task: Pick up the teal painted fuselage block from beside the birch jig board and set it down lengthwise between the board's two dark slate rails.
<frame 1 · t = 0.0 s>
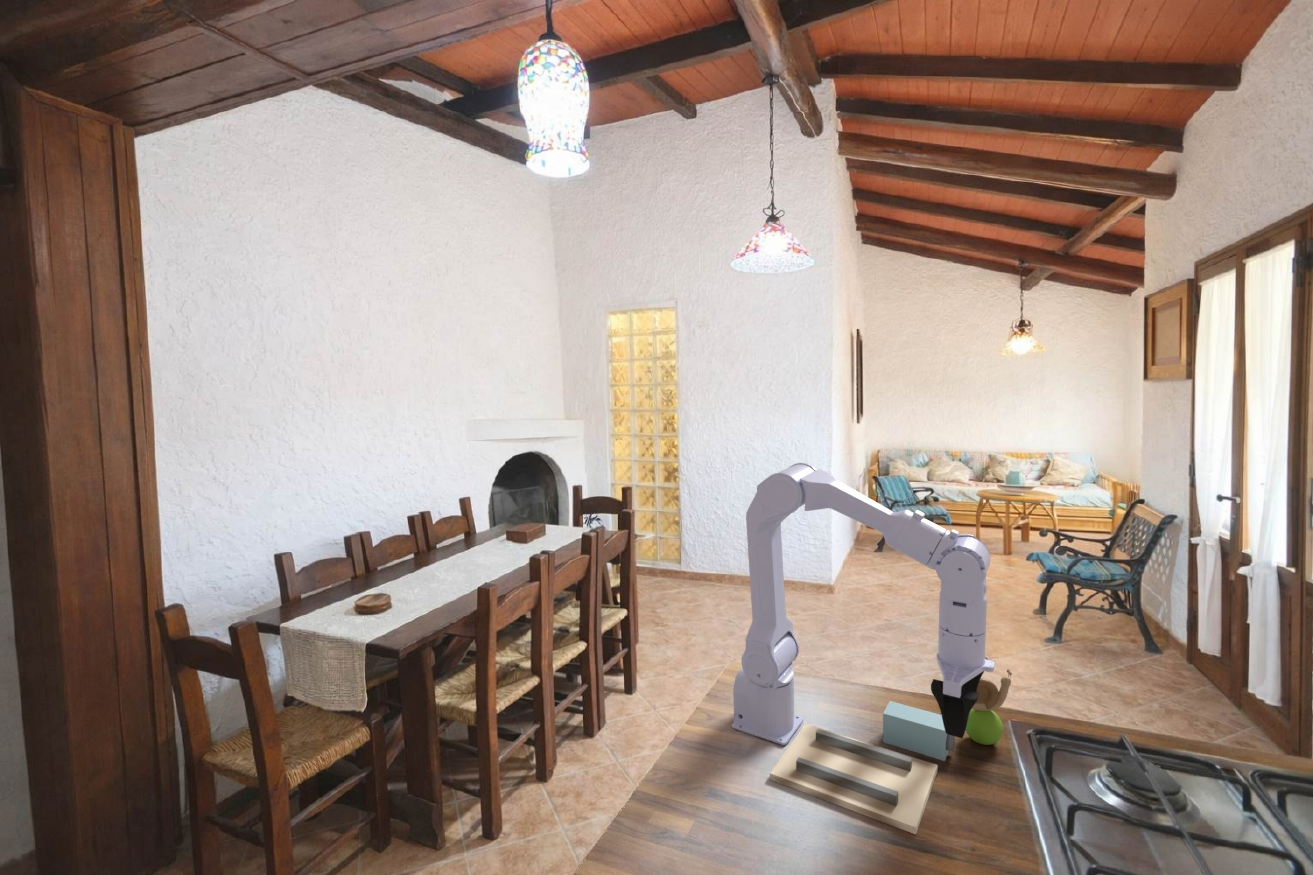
hand: (959, 720, 86), 10 cm above the counter, tool pointing down, fingers open, 7 cm apart
snail figurine: (985, 742, 97), on the counter
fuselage: (915, 744, 97), on the counter
jig board: (853, 775, 91), on the counter
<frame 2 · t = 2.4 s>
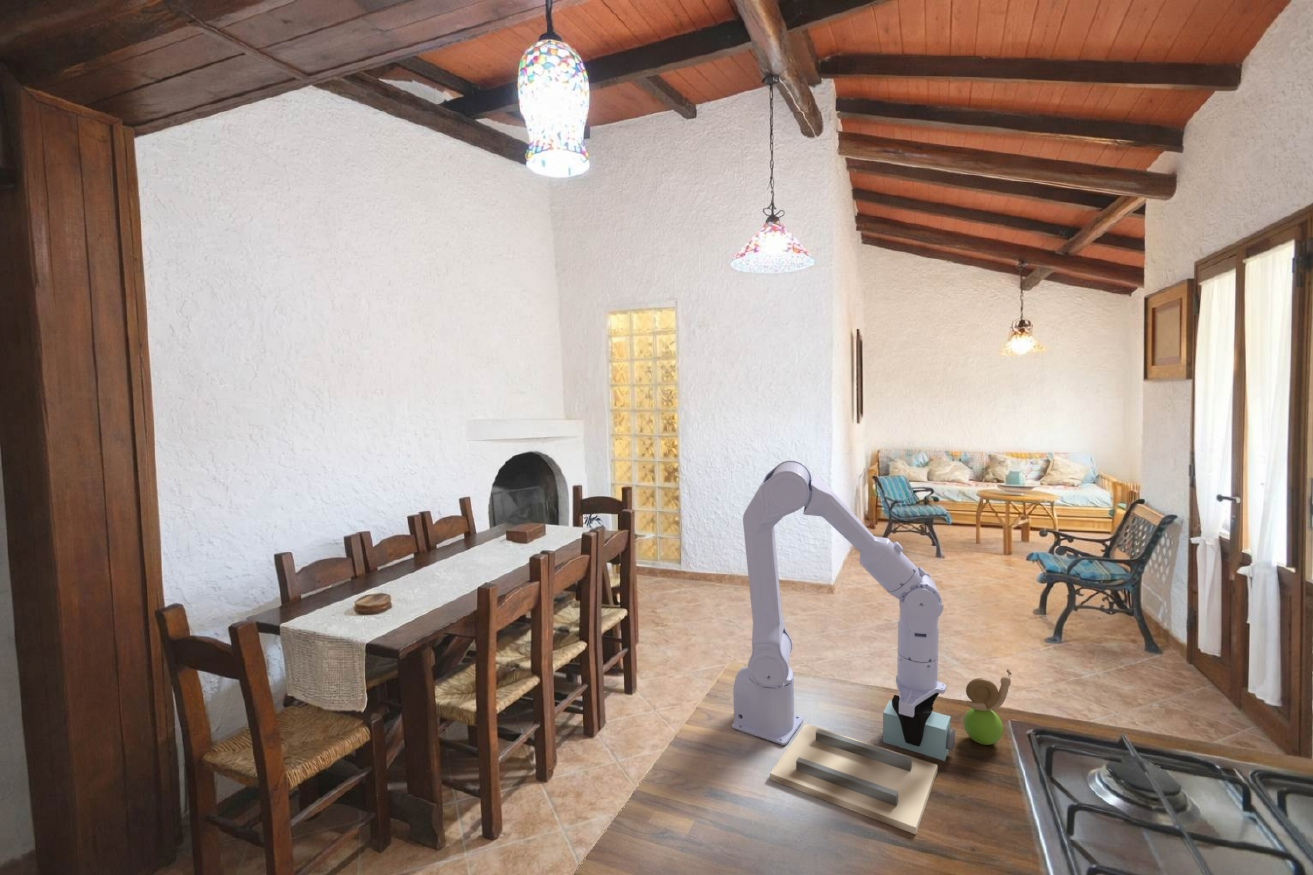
hand: (916, 735, 97), 1 cm above the counter, tool pointing down, fingers closed on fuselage, 4 cm apart
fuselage: (916, 744, 97), on the counter, touching gripper
everything else where it was.
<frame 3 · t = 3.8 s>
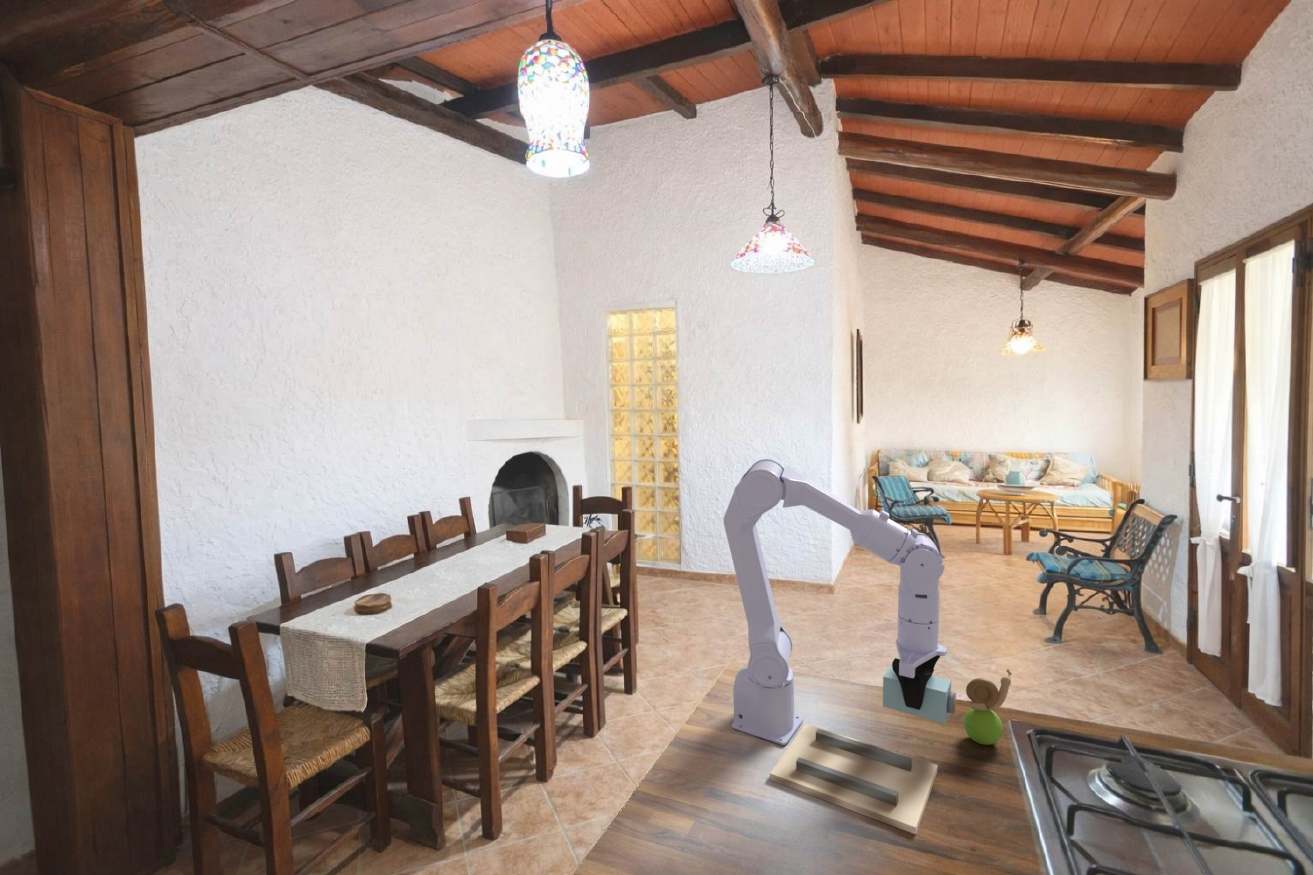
hand: (916, 699, 96), 7 cm above the counter, tool pointing down, fingers closed on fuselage, 4 cm apart
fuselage: (916, 708, 97), point 6 cm above the counter, touching gripper
everything else where it was.
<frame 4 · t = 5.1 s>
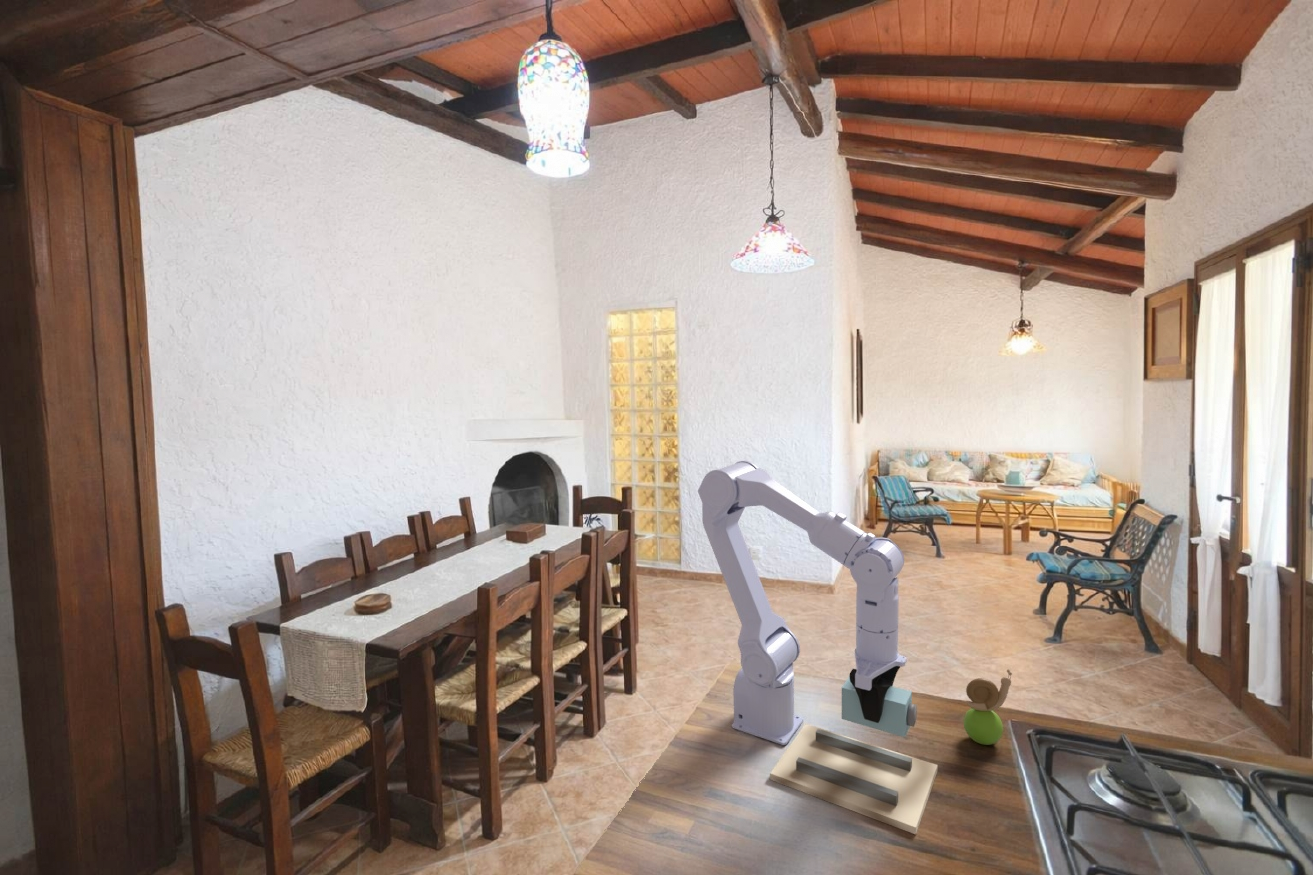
hand: (876, 711, 92), 8 cm above the counter, tool pointing down, fingers closed on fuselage, 4 cm apart
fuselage: (876, 720, 92), point 7 cm above the counter, touching gripper
everything else where it was.
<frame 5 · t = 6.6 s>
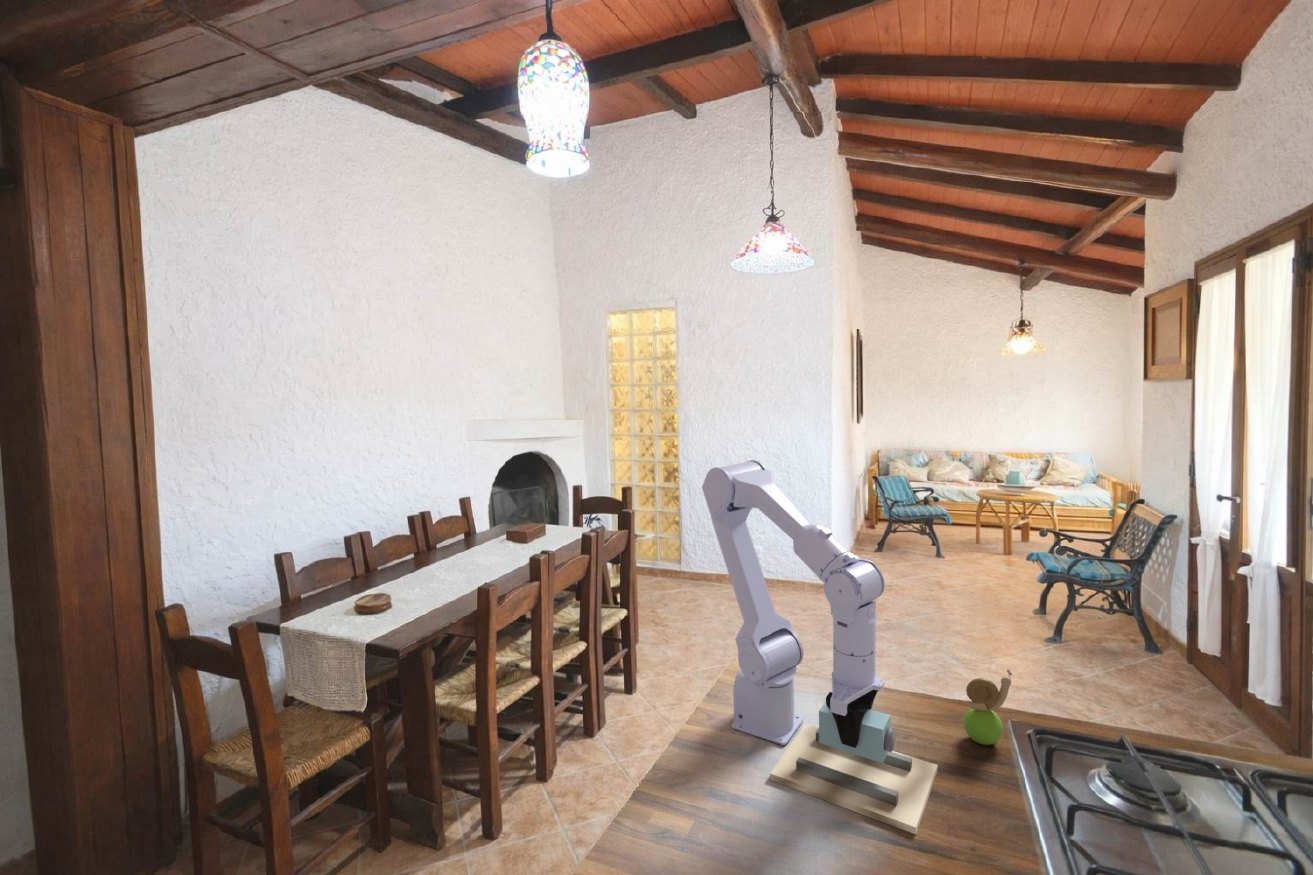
hand: (854, 735, 90), 6 cm above the counter, tool pointing down, fingers closed on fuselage, 4 cm apart
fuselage: (854, 745, 90), point 5 cm above the counter, touching gripper
everything else where it was.
when the fingers open (4 cm above the counter, at t = 7.9 s): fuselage drops 1 cm, resting on jig board.
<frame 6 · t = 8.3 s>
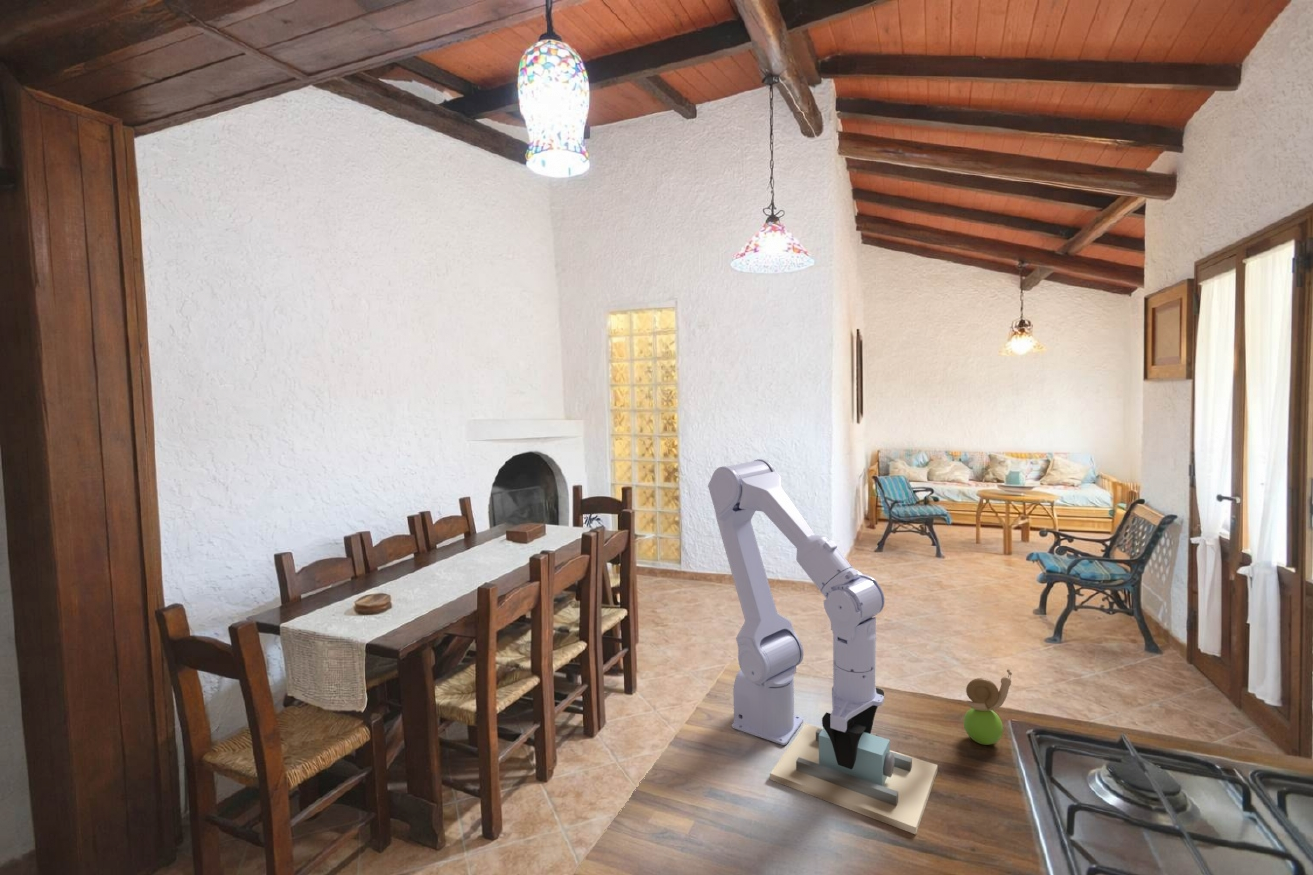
hand: (853, 750, 90), 4 cm above the counter, tool pointing down, fingers open, 7 cm apart
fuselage: (853, 769, 91), point 1 cm above the counter, touching jig board
everything else where it was.
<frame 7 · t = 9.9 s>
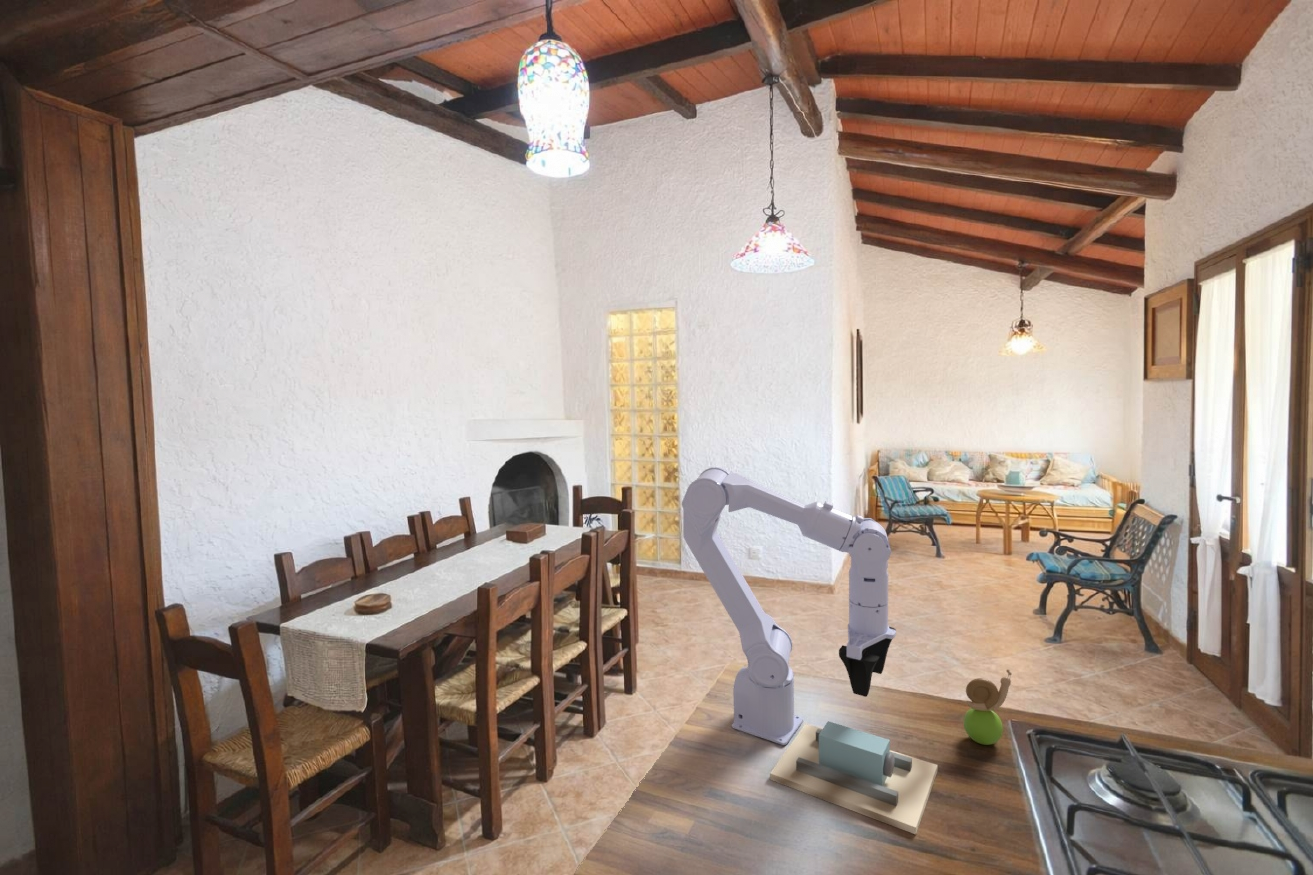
hand: (868, 682, 98), 9 cm above the counter, tool pointing down, fingers open, 7 cm apart
nothing on the counter moved.
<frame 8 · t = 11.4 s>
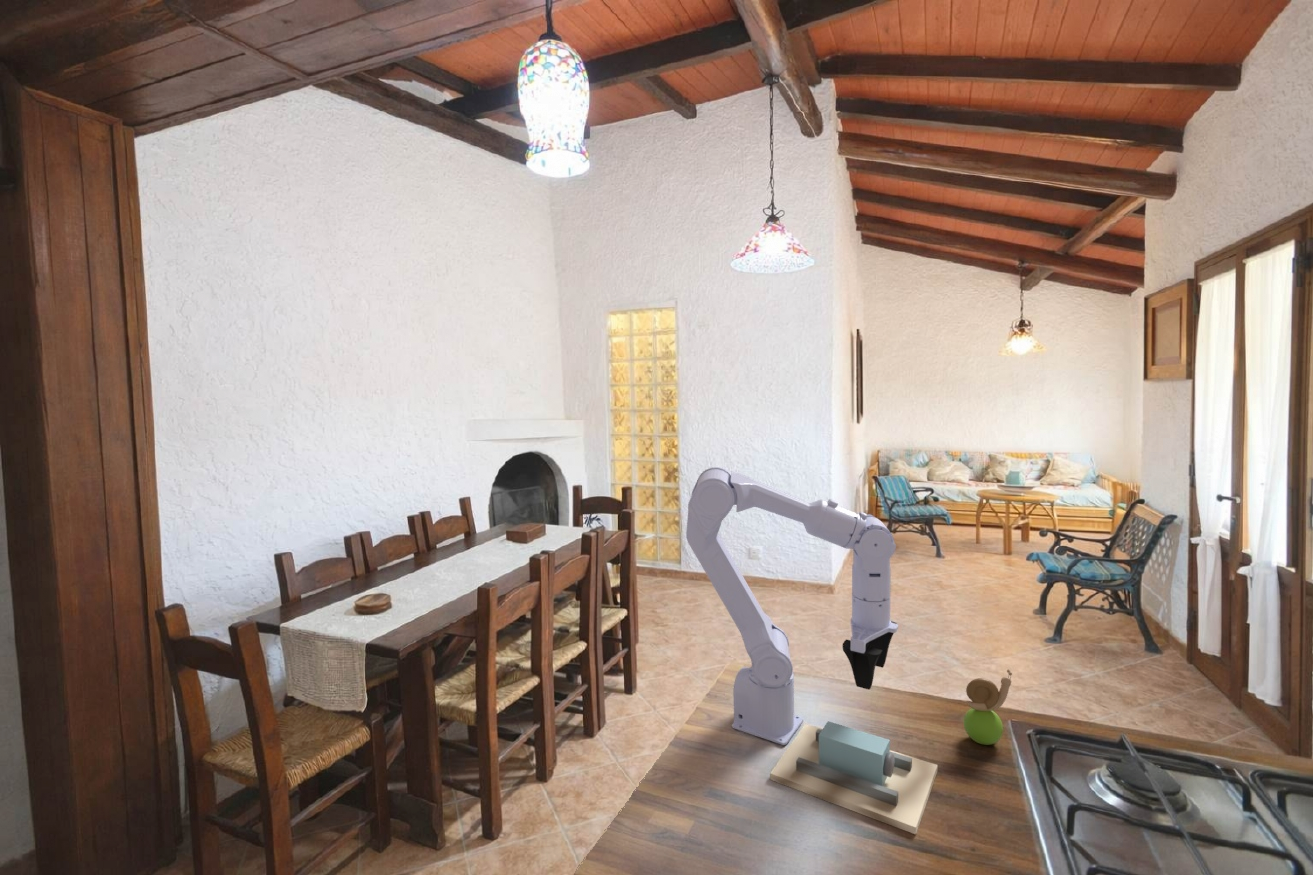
hand: (870, 675, 100), 9 cm above the counter, tool pointing down, fingers open, 7 cm apart
nothing on the counter moved.
at the end: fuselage 0.0 cm off-centre on the jig board, point 1.0 cm above the jig board's base; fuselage tilted 0°; the gripper is holding nothing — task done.
